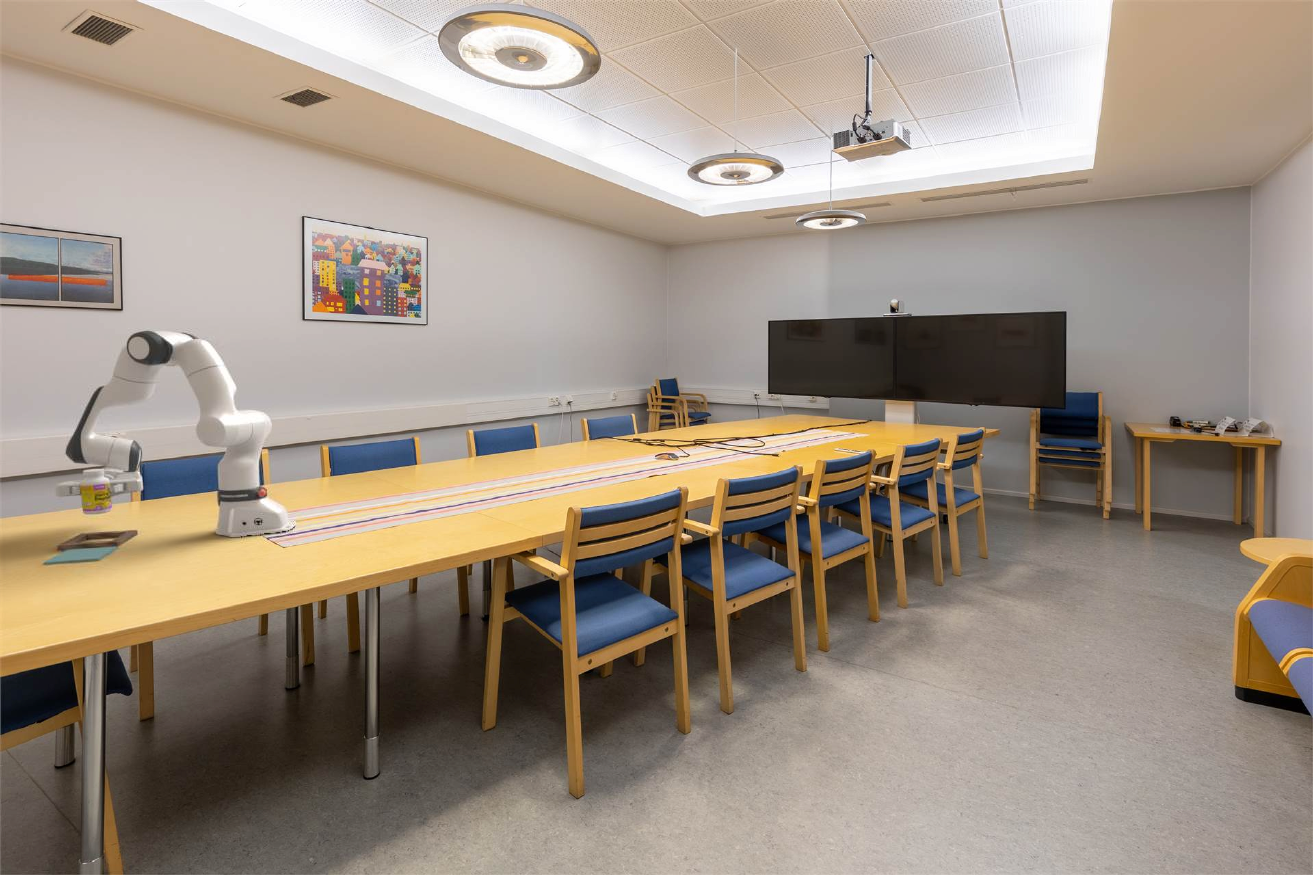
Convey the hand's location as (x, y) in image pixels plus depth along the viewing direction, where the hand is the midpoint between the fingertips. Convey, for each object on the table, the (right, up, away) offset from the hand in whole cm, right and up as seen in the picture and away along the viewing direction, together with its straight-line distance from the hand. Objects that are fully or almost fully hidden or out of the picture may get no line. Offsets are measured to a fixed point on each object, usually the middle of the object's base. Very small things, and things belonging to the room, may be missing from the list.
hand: (94, 491), depth 188 cm
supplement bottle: (0, -7, +2) cm, 7 cm away
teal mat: (+6, -17, -11) cm, 21 cm away
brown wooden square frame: (-1, -16, +3) cm, 16 cm away
